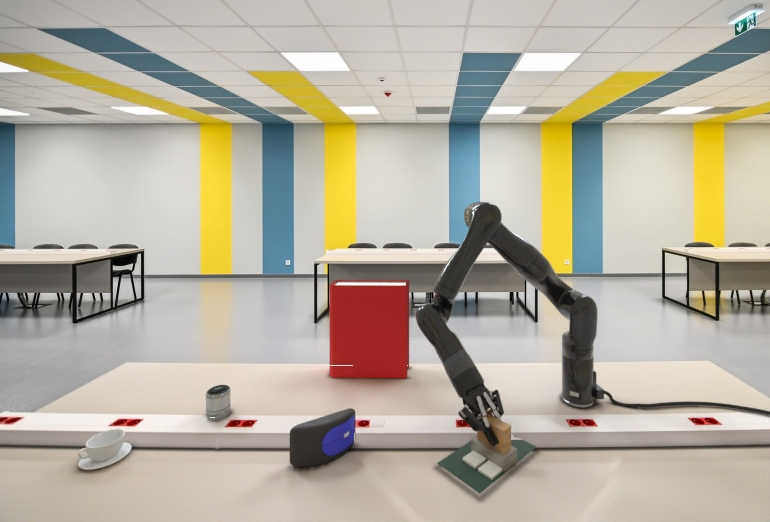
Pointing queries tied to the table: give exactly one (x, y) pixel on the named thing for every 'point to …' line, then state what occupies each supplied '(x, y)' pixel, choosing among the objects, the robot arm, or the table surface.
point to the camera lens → (218, 402)
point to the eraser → (502, 451)
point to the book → (369, 328)
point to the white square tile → (474, 459)
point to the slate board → (471, 474)
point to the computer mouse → (322, 438)
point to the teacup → (104, 449)
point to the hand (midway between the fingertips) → (500, 441)
